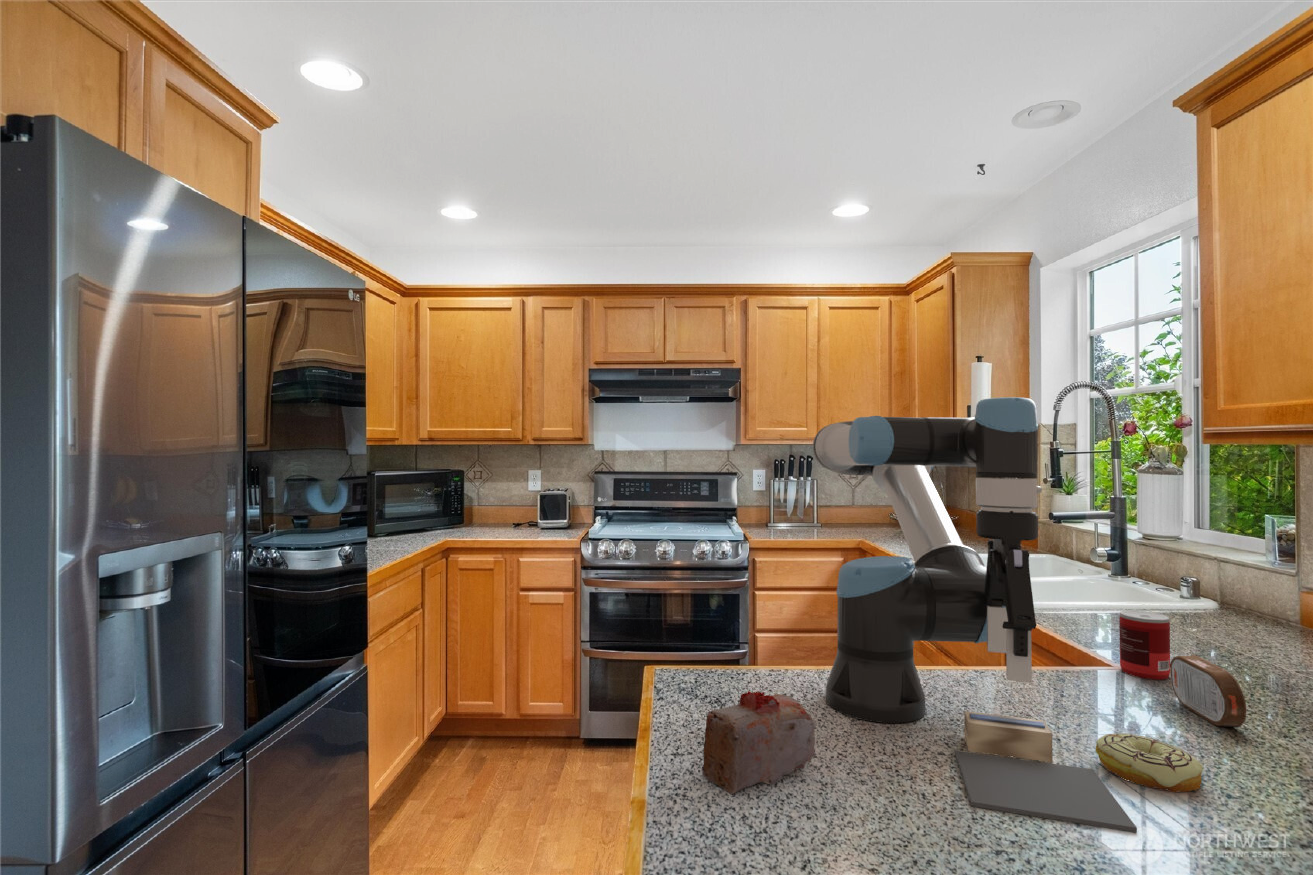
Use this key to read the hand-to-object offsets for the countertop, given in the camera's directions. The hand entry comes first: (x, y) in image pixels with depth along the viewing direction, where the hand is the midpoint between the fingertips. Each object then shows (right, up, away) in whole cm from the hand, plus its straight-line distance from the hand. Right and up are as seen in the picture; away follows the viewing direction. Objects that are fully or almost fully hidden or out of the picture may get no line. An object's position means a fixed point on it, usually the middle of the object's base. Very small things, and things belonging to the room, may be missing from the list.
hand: (1007, 665), depth 89 cm
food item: (-35, -11, -8) cm, 38 cm away
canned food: (+44, -14, +34) cm, 57 cm away
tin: (+38, -13, +13) cm, 42 cm away
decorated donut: (+14, -12, -7) cm, 20 cm away
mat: (-3, -11, -11) cm, 16 cm away
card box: (0, -12, 0) cm, 12 cm away
